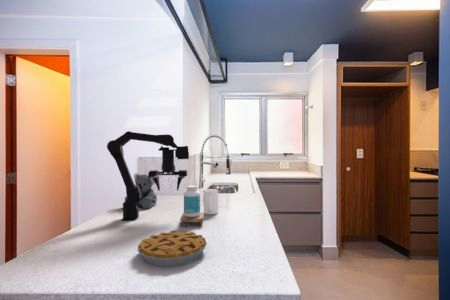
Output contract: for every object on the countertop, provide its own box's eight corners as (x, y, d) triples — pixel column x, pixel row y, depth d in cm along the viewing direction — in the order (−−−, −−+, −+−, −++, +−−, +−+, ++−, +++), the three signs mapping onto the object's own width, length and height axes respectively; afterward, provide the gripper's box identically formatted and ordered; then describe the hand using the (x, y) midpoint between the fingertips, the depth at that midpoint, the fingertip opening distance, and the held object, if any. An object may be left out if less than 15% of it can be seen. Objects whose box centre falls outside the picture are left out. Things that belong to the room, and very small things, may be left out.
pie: (177, 237, 101) (177, 224, 101) (219, 252, 87) (219, 237, 87) (124, 256, 84) (124, 240, 84) (167, 277, 70) (166, 259, 70)
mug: (201, 216, 130) (201, 192, 130) (203, 210, 142) (203, 188, 142) (217, 216, 130) (217, 192, 130) (218, 210, 142) (218, 188, 142)
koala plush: (122, 208, 149) (121, 174, 149) (139, 201, 166) (138, 171, 166) (149, 209, 145) (149, 174, 145) (163, 202, 163) (163, 171, 162)
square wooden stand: (180, 227, 113) (180, 219, 113) (182, 220, 123) (182, 213, 123) (203, 226, 114) (203, 218, 114) (203, 220, 124) (203, 212, 124)
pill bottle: (202, 217, 116) (202, 186, 116) (185, 218, 114) (185, 187, 113) (197, 213, 123) (197, 184, 123) (182, 214, 121) (182, 185, 120)
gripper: (188, 158, 139) (188, 187, 139) (153, 159, 138) (153, 188, 138) (186, 159, 128) (186, 191, 128) (147, 160, 127) (148, 191, 127)
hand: (168, 190), depth 131 cm, fingers open, 9 cm apart
